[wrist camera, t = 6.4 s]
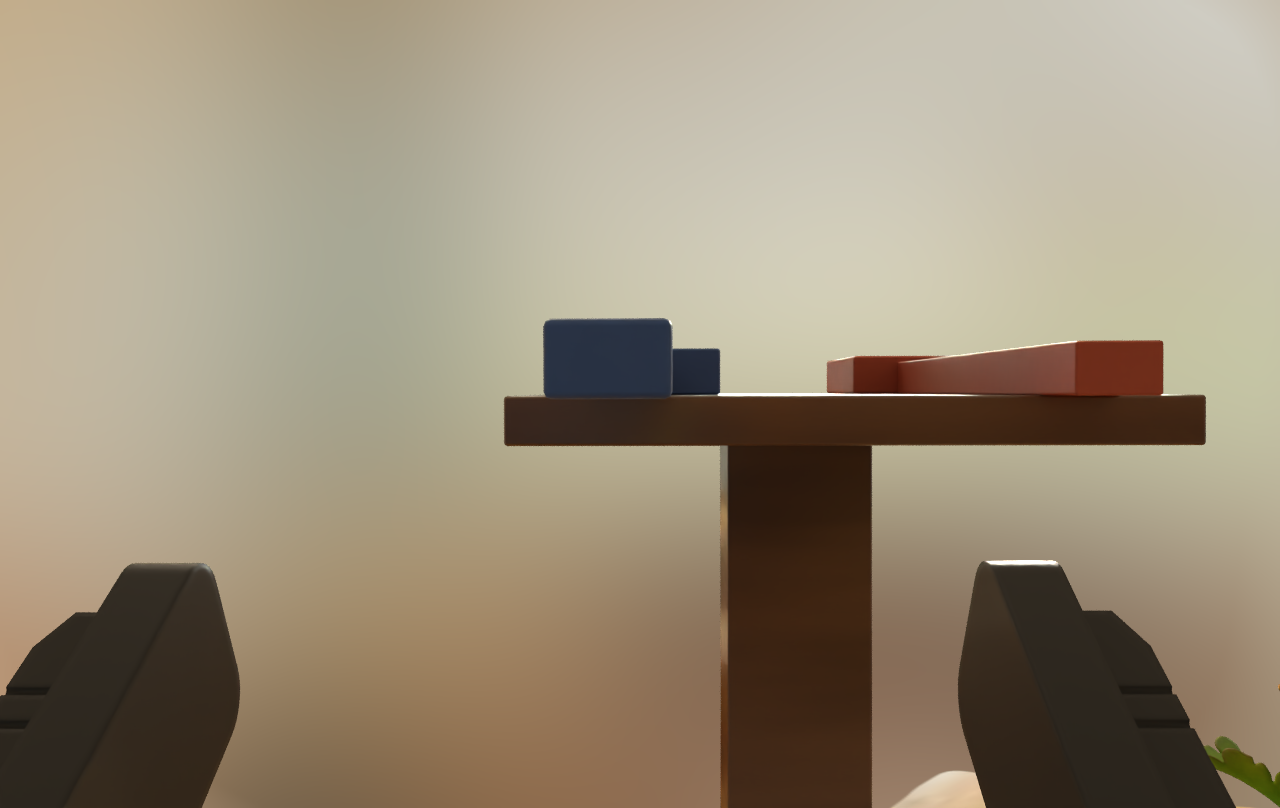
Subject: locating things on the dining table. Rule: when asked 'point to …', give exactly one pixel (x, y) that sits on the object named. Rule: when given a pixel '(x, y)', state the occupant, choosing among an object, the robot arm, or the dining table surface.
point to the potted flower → (1244, 768)
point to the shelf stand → (819, 546)
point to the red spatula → (1010, 371)
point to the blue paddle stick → (623, 361)
